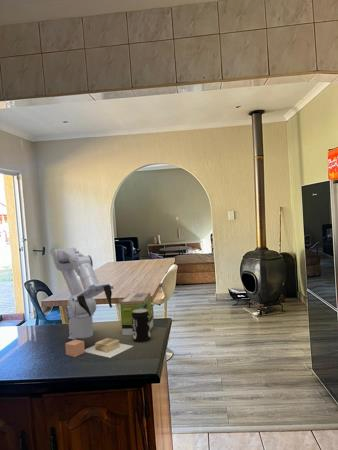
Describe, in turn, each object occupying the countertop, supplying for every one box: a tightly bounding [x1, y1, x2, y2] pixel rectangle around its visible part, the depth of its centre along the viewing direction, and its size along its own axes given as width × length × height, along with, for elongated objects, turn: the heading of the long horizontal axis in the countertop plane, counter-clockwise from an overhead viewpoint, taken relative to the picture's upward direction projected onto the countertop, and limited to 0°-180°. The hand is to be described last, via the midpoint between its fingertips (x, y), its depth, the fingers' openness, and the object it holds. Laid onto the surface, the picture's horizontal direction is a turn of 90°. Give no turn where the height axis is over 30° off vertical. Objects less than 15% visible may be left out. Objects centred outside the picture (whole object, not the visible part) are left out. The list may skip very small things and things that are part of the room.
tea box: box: [119, 292, 154, 336], centre depth 151 cm, size 15×10×15 cm
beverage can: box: [131, 308, 152, 343], centre depth 138 cm, size 7×7×12 cm
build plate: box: [85, 342, 134, 359], centre depth 130 cm, size 14×12×1 cm
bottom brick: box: [94, 337, 120, 353], centre depth 130 cm, size 6×6×2 cm
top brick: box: [64, 338, 86, 358], centre depth 127 cm, size 4×4×5 cm
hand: (100, 310), depth 129 cm, fingers open, 7 cm apart
